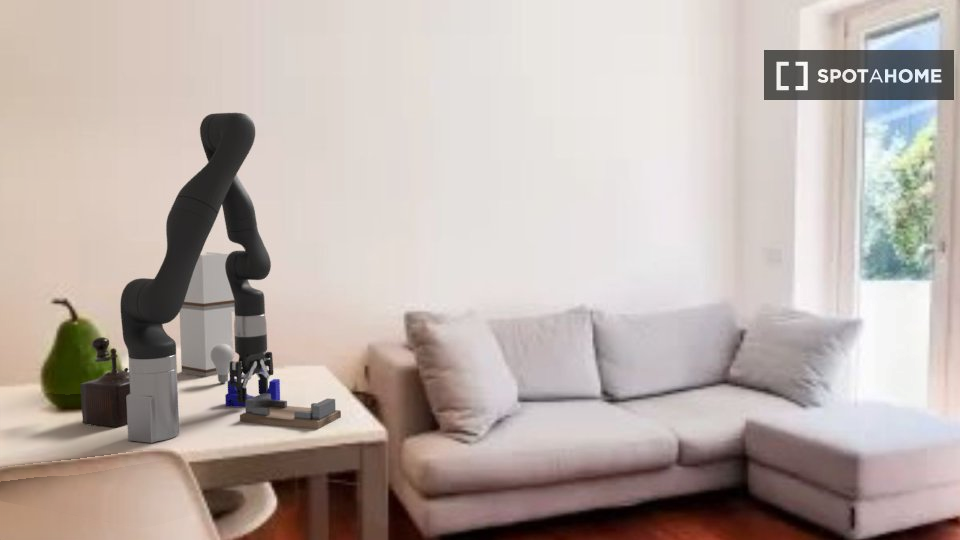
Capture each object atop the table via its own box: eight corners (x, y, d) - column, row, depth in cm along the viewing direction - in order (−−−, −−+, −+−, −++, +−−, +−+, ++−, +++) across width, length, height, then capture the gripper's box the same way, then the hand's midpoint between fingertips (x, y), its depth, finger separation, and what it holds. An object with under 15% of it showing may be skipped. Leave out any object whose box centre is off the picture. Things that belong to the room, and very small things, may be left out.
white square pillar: (236, 370, 226) (233, 253, 223) (206, 377, 217) (202, 255, 214) (212, 366, 232) (208, 252, 229) (181, 372, 223) (177, 254, 220)
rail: (318, 428, 164) (317, 408, 164) (240, 421, 170) (239, 401, 170) (340, 417, 174) (340, 397, 173) (265, 410, 180) (265, 391, 180)
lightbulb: (210, 382, 210) (209, 343, 209) (233, 380, 213) (232, 341, 212) (212, 386, 205) (211, 346, 204) (236, 384, 207) (235, 344, 206)
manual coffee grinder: (154, 415, 176) (151, 339, 174) (115, 428, 165) (112, 347, 164) (104, 409, 181) (101, 335, 180) (64, 421, 171) (60, 343, 170)
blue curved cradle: (225, 406, 184) (224, 382, 184) (233, 402, 188) (232, 378, 188) (273, 407, 183) (273, 383, 183) (280, 403, 188) (279, 379, 187)
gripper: (245, 338, 175) (248, 407, 177) (280, 328, 189) (282, 392, 190) (218, 337, 178) (221, 404, 179) (255, 327, 191) (257, 390, 193)
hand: (253, 398), depth 185 cm, fingers open, 8 cm apart
